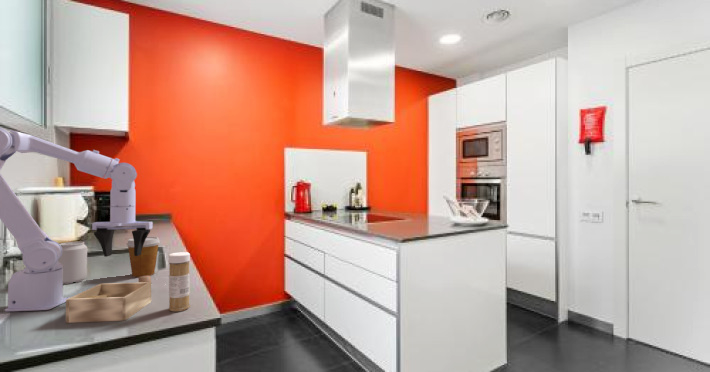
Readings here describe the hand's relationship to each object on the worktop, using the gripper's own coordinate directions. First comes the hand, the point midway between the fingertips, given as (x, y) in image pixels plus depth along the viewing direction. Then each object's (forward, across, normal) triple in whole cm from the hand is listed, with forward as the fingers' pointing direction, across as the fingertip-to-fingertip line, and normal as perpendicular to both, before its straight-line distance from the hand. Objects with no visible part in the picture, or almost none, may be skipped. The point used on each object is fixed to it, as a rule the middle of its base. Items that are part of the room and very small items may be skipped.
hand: (122, 255), depth 93 cm
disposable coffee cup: (+11, -4, +20) cm, 23 cm away
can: (+11, -22, +14) cm, 28 cm away
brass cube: (+10, +2, -16) cm, 19 cm away
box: (+10, +5, -14) cm, 18 cm away
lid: (+11, +5, +2) cm, 12 cm away
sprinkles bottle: (+11, +20, -14) cm, 27 cm away
